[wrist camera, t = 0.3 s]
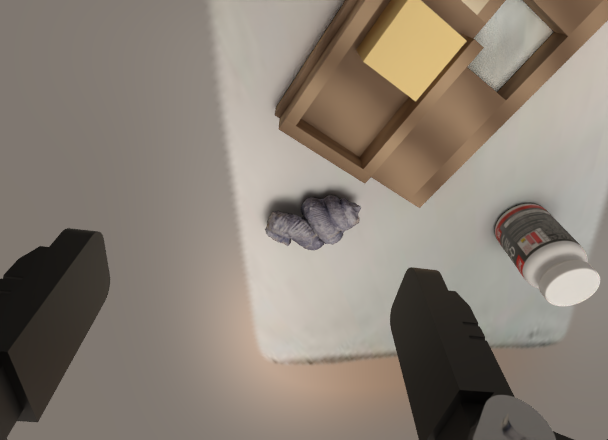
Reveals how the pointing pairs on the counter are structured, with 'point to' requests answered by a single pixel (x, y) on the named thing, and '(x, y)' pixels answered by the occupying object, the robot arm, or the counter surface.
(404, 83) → the block
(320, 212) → the seashell
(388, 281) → the counter surface
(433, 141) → the wooden compartment tray
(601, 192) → the counter surface
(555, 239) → the pill bottle
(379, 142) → the cubby
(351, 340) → the counter surface
